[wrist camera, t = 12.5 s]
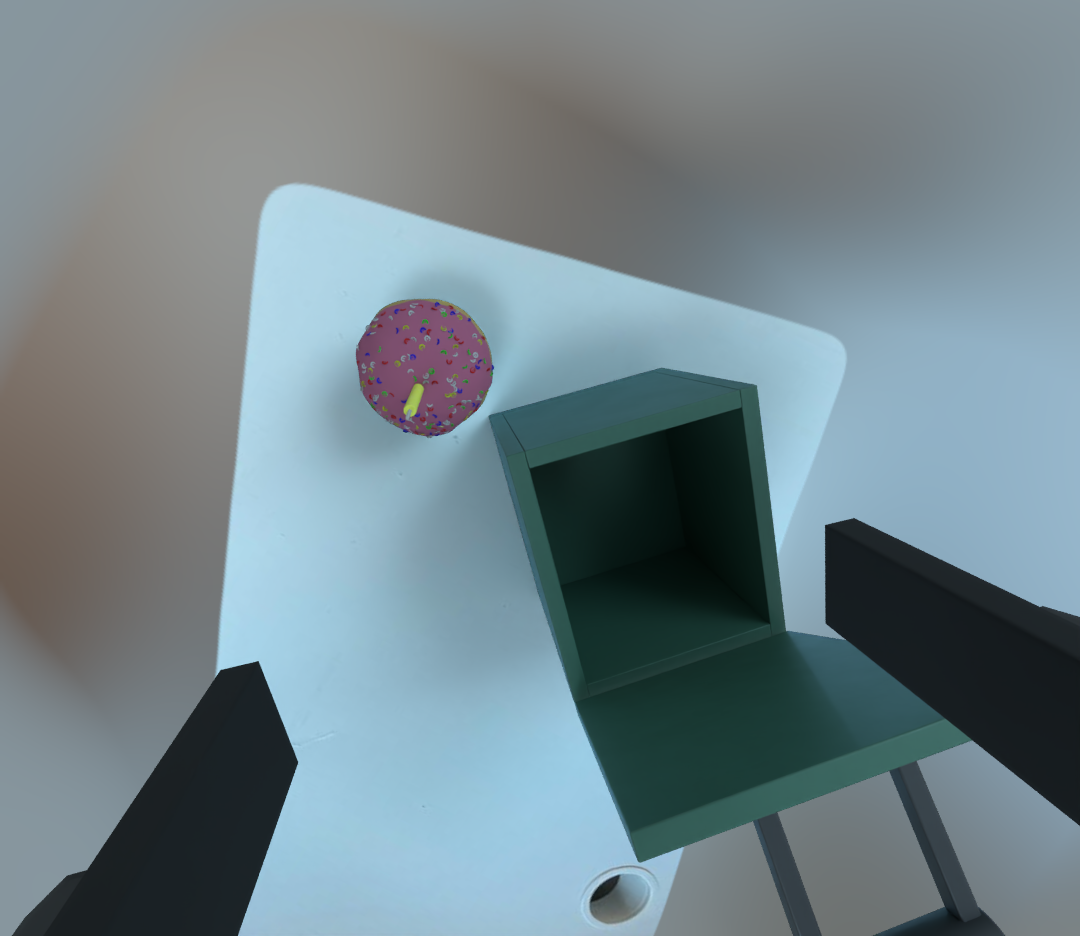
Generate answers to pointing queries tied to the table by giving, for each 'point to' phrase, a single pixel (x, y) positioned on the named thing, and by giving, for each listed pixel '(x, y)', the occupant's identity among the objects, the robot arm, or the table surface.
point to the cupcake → (424, 365)
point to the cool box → (645, 523)
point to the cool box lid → (775, 758)
